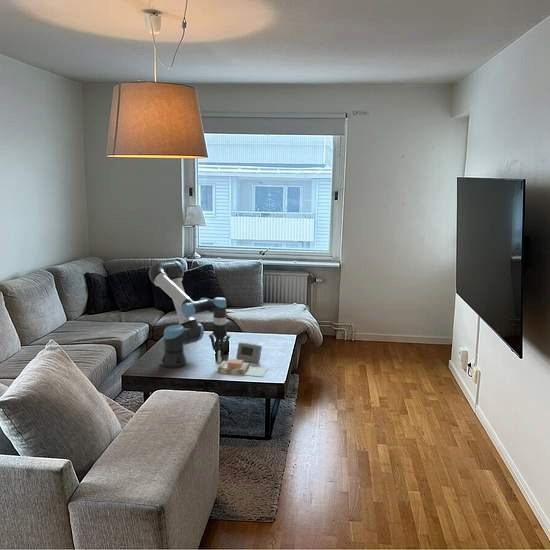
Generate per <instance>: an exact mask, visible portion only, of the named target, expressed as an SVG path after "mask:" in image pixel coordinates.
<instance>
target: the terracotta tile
mask: <svg viewBox="0 0 550 550" xmlns="http://www.w3.org/2000/svg"><path fill="white" fill-rule="evenodd" d="M227 361H228V363H227V367H236V368H241V367H242V365H243V363H244V361H243V360H237V359H236V358H230V359H229V360H227Z"/></svg>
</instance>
